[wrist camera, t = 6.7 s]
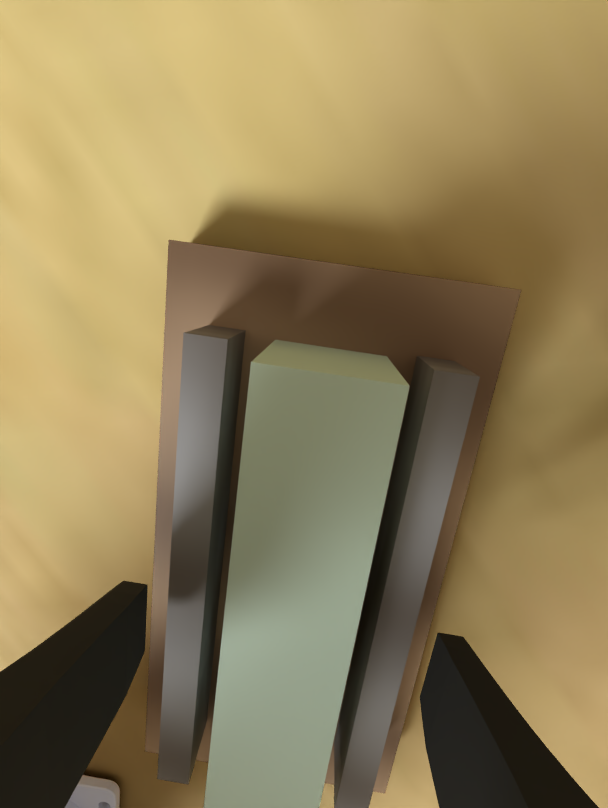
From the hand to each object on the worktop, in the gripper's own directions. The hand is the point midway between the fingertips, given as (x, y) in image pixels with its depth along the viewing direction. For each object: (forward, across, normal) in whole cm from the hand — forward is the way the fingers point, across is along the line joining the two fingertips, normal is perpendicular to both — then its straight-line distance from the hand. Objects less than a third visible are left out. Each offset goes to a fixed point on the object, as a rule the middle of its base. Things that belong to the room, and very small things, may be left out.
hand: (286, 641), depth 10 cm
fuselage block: (+3, 0, 0) cm, 3 cm away
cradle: (+4, 0, 0) cm, 4 cm away
